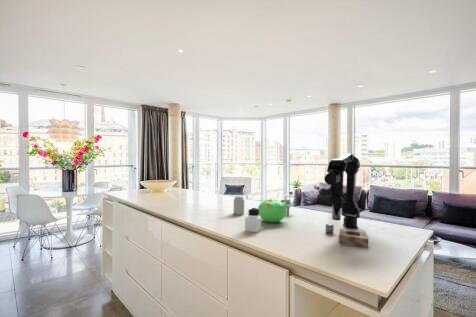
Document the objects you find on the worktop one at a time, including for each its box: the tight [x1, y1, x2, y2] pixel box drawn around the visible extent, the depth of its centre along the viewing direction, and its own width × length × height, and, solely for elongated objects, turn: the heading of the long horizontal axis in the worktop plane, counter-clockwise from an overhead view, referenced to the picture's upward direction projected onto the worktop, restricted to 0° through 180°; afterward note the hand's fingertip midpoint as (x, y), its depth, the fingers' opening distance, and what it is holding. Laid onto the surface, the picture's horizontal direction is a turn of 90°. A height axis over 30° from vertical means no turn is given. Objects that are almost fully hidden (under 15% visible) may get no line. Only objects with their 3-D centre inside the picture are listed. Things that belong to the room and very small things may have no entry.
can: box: [233, 196, 245, 216], centre depth 170 cm, size 8×8×12 cm
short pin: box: [325, 223, 335, 235], centre depth 130 cm, size 4×4×4 cm
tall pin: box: [331, 203, 342, 221], centre depth 124 cm, size 4×4×8 cm
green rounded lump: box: [257, 197, 291, 223], centre depth 151 cm, size 18×17×15 cm
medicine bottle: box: [244, 207, 262, 233], centre depth 133 cm, size 7×7×12 cm
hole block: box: [338, 228, 369, 248], centre depth 118 cm, size 12×12×4 cm
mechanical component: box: [280, 199, 296, 215], centre depth 172 cm, size 3×10×10 cm, turn 78°
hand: (336, 213), depth 124 cm, fingers closed on tall pin, 4 cm apart
